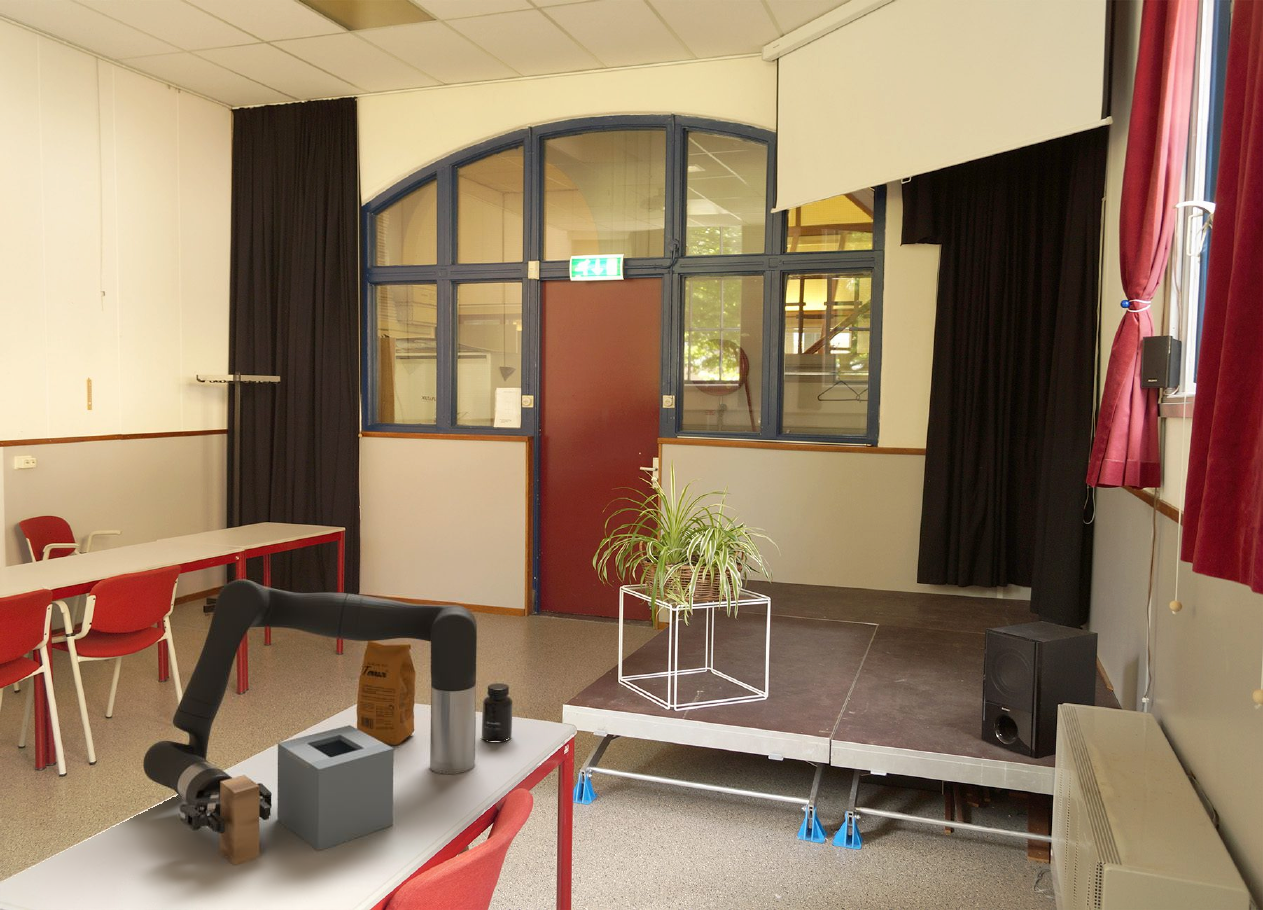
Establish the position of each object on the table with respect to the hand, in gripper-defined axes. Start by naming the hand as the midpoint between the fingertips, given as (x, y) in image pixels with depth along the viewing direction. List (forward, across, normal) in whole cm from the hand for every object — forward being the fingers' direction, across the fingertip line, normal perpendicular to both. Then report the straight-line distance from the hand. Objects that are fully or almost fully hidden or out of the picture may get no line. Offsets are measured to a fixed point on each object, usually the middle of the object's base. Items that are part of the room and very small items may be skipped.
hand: (245, 820), depth 147 cm
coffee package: (-34, +45, +7) cm, 57 cm away
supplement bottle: (-17, +64, +7) cm, 66 cm away
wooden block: (-2, 0, +6) cm, 7 cm away
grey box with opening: (-3, +17, +6) cm, 18 cm away
